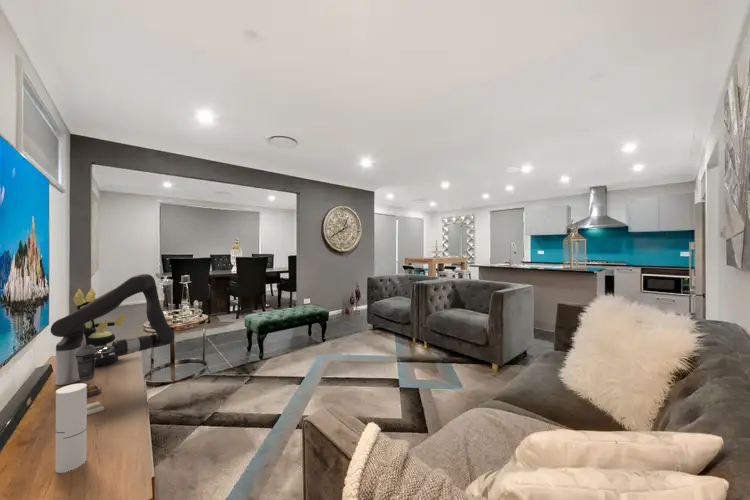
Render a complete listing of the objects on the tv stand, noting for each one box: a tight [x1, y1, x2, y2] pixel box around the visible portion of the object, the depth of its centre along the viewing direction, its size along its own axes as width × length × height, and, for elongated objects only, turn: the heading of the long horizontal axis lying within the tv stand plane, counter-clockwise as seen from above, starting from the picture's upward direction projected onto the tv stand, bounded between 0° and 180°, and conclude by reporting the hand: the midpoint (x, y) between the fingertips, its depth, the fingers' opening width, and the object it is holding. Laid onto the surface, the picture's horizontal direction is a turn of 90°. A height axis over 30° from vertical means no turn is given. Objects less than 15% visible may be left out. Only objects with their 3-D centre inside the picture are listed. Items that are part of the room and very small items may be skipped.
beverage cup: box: [75, 334, 97, 383], centre depth 138 cm, size 7×7×20 cm
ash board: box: [87, 400, 105, 416], centre depth 131 cm, size 9×12×1 cm
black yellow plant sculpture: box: [72, 287, 126, 367], centre depth 184 cm, size 19×22×45 cm
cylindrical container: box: [55, 382, 88, 474], centre depth 100 cm, size 7×7×25 cm
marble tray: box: [87, 383, 102, 398], centre depth 147 cm, size 9×9×4 cm
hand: (80, 356), depth 137 cm, fingers closed on beverage cup, 7 cm apart
